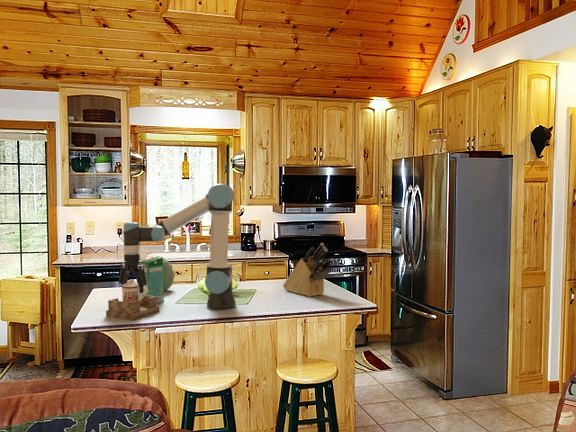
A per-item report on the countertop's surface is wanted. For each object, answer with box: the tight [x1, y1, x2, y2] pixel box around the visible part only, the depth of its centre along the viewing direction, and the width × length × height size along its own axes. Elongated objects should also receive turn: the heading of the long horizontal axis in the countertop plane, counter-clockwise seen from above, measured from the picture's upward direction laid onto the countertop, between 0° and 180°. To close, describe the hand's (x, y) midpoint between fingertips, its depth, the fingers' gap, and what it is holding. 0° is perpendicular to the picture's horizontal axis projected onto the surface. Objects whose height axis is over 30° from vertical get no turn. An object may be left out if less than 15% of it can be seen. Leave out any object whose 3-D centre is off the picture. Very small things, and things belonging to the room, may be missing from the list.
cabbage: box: [163, 258, 176, 292], centre depth 307 cm, size 16×19×20 cm
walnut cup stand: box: [105, 295, 160, 321], centre depth 250 cm, size 17×19×8 cm
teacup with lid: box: [121, 278, 147, 303], centre depth 250 cm, size 12×9×12 cm
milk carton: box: [139, 255, 165, 304], centre depth 278 cm, size 9×9×25 cm
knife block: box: [282, 242, 334, 298], centre depth 296 cm, size 11×35×31 cm, turn 36°
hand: (132, 298), depth 250 cm, fingers closed on teacup with lid, 9 cm apart
